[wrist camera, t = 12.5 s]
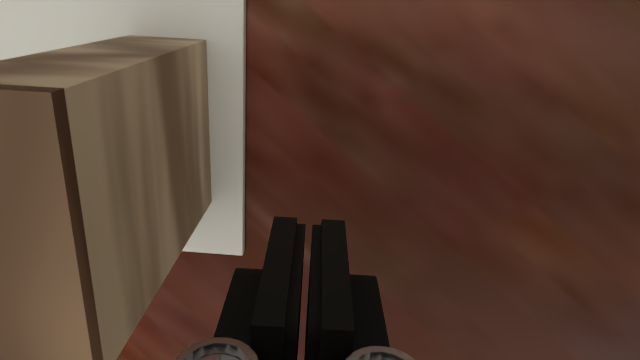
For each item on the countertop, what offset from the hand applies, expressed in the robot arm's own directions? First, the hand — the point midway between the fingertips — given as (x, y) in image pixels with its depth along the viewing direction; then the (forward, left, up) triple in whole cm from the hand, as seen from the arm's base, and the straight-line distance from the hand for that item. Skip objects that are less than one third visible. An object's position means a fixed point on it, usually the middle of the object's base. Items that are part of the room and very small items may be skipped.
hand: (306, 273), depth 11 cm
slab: (+7, 0, -12) cm, 14 cm away
